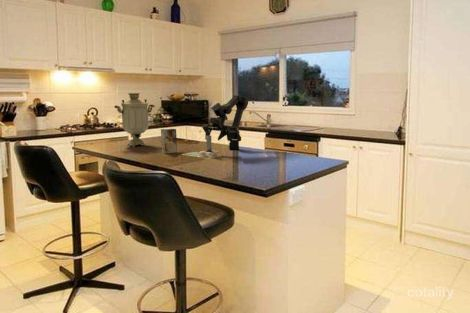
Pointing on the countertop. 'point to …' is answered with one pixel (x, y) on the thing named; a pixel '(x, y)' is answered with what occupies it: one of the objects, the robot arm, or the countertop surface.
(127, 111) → the samovar
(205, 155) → the board
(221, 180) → the countertop surface
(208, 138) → the key rod
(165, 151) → the coffee box
